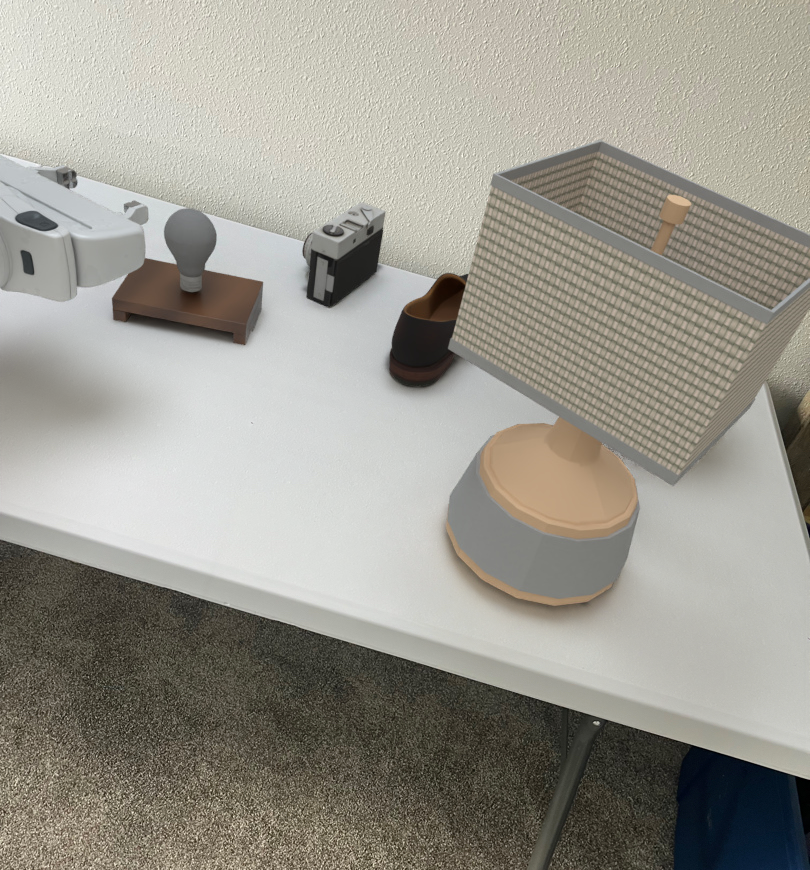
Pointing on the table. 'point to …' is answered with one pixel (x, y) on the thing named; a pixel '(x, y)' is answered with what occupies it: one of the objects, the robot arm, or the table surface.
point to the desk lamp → (609, 354)
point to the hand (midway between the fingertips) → (106, 192)
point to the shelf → (190, 299)
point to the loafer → (427, 333)
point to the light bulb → (190, 245)
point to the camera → (343, 253)
